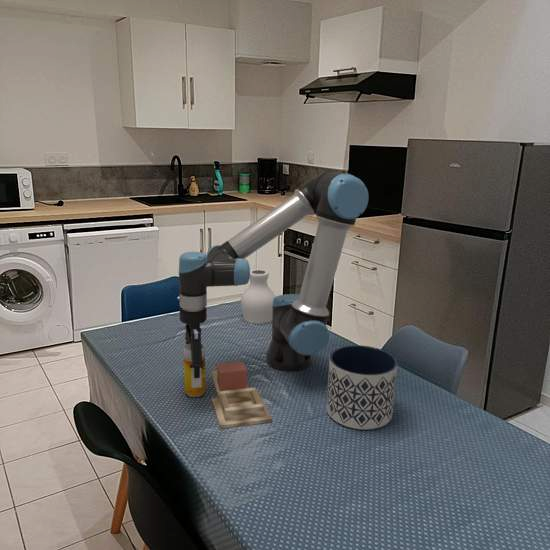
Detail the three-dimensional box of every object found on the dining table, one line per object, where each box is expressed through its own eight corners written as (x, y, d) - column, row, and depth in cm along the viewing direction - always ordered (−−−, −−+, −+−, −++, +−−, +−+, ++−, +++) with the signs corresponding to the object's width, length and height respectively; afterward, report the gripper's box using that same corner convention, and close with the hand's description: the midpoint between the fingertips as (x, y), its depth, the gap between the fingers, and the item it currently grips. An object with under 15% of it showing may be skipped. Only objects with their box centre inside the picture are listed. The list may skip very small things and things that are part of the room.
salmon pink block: (242, 378, 160) (242, 361, 158) (246, 388, 155) (246, 370, 153) (216, 381, 158) (216, 363, 156) (220, 391, 153) (220, 372, 151)
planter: (352, 389, 158) (356, 339, 153) (404, 413, 145) (410, 360, 140) (312, 411, 145) (315, 357, 140) (366, 439, 133) (371, 382, 128)
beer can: (201, 399, 150) (200, 351, 146) (181, 396, 151) (180, 349, 147) (208, 389, 156) (207, 343, 151) (189, 386, 157) (187, 341, 152)
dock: (246, 369, 168) (247, 358, 167) (271, 422, 140) (271, 408, 138) (203, 374, 165) (203, 362, 163) (220, 428, 136) (219, 415, 135)
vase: (236, 324, 205) (236, 275, 199) (244, 311, 219) (245, 265, 213) (272, 327, 203) (273, 278, 197) (278, 314, 217) (279, 268, 211)
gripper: (175, 293, 156) (176, 358, 162) (184, 324, 133) (185, 398, 139) (200, 292, 158) (200, 356, 164) (213, 322, 135) (213, 395, 141)
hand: (193, 375), depth 152 cm, fingers open, 13 cm apart
